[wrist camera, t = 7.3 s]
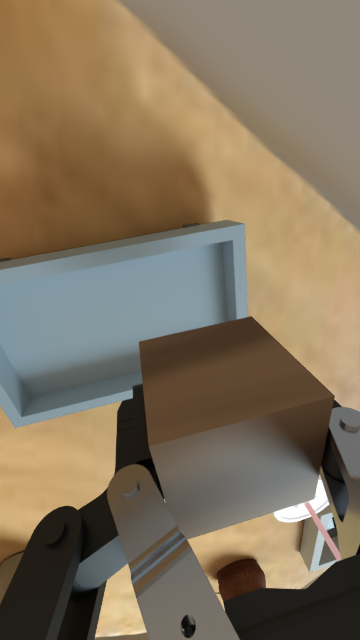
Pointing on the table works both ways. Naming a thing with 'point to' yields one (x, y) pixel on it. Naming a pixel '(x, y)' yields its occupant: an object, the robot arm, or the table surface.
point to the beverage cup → (310, 514)
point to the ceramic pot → (240, 578)
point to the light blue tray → (109, 313)
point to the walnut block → (231, 424)
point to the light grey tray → (317, 542)
